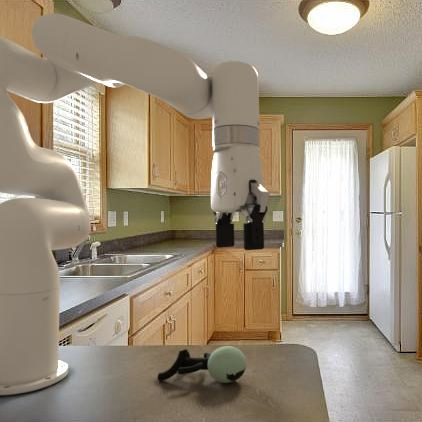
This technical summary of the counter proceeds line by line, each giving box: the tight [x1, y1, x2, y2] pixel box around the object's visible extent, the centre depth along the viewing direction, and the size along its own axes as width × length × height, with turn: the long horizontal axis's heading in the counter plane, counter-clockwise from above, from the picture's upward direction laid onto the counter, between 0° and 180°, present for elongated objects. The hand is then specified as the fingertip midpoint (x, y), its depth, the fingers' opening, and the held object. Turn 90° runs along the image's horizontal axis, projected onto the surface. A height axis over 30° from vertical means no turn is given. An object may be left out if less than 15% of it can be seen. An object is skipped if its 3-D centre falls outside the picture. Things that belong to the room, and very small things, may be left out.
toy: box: [157, 345, 247, 384], centre depth 68 cm, size 10×6×15 cm
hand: (238, 248), depth 61 cm, fingers open, 9 cm apart
